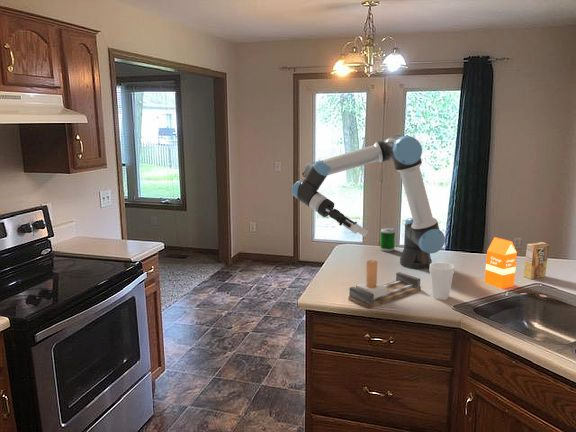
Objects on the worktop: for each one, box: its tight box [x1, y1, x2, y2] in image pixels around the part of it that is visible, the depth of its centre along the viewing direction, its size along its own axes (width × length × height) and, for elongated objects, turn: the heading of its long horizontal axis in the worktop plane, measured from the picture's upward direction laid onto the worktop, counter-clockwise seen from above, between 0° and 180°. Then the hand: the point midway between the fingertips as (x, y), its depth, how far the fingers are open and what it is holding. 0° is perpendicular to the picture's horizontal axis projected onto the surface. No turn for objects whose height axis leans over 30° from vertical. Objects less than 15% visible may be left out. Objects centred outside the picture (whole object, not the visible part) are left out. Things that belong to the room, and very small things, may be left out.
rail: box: [348, 271, 422, 309], centre depth 187 cm, size 31×11×5 cm, turn 127°
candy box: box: [523, 241, 550, 280], centre depth 205 cm, size 9×4×15 cm, turn 110°
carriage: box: [355, 259, 387, 299], centre depth 181 cm, size 8×9×13 cm
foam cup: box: [428, 261, 455, 301], centre depth 184 cm, size 10×9×13 cm
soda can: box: [379, 227, 396, 253], centre depth 250 cm, size 8×8×12 cm
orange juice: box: [484, 236, 518, 290], centre depth 196 cm, size 8×9×20 cm
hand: (362, 232), depth 188 cm, fingers open, 13 cm apart
